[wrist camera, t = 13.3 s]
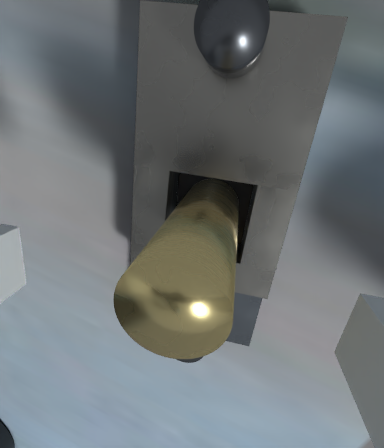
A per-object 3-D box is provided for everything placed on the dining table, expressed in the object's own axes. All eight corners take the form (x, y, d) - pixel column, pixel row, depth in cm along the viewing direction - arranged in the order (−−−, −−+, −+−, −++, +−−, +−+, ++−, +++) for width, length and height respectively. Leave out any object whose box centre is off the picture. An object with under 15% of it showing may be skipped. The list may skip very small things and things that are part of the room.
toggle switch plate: (248, 332, 23) (250, 398, 18) (140, 307, 24) (110, 362, 19) (328, 36, 15) (379, -15, 9) (157, 21, 16) (112, -32, 10)
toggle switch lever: (233, 234, 20) (221, 370, 9) (182, 225, 21) (113, 343, 10) (243, 183, 19) (244, 273, 8) (188, 174, 19) (114, 246, 8)
